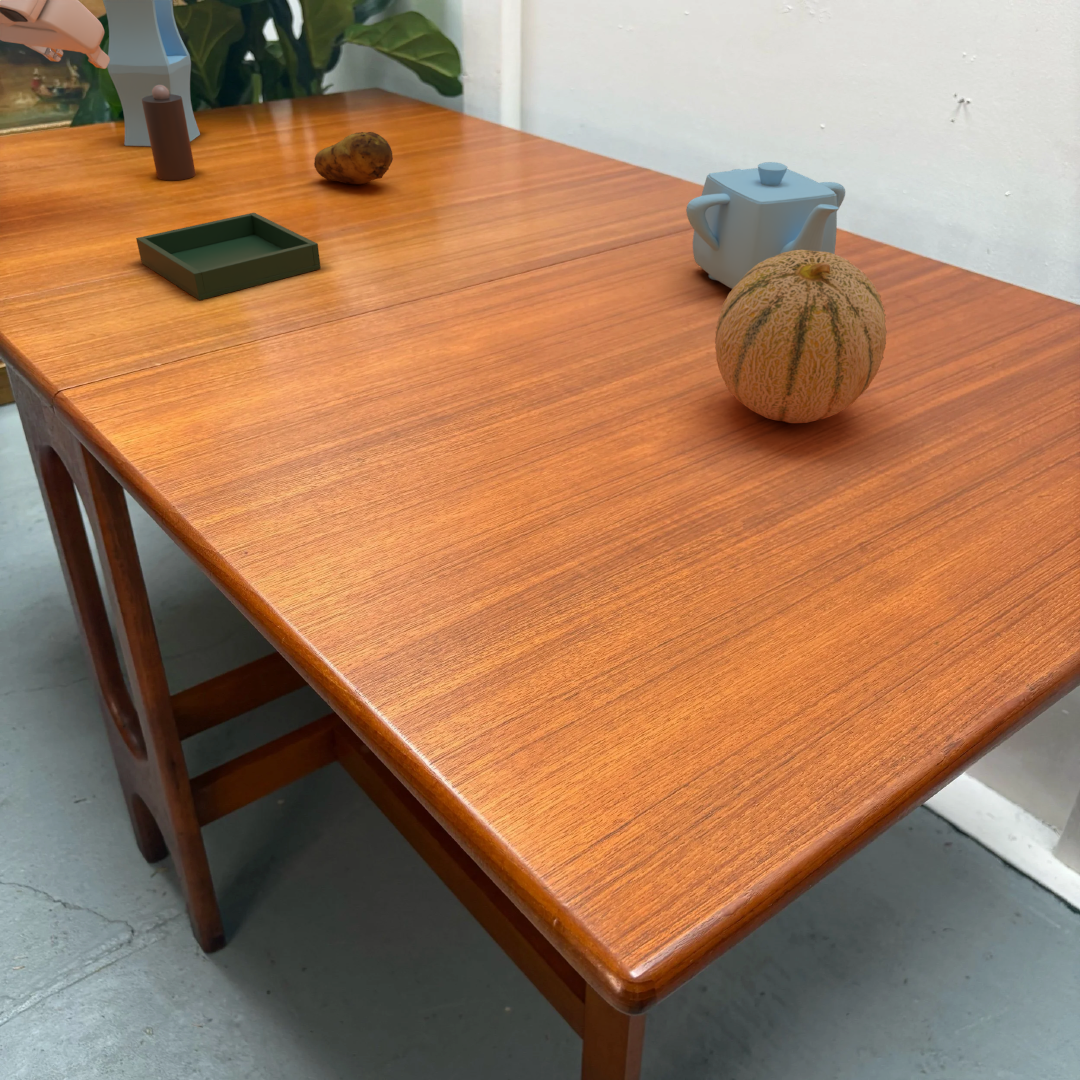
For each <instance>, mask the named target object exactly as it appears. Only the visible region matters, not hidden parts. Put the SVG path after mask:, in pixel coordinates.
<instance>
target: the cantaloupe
mask: <svg viewBox="0 0 1080 1080" xmlns="http://www.w3.org/2000/svg"><path fill="white" fill-rule="evenodd" d="M881 298H882V295H881V294H880V293H879V291H878V290H877V288H876V286H875V284H874V283H873V282H872V280H871V279H870V278H869V277H868V276H867V275H866V273H864V271H862V270H861V269H860V268H859V267H857V266H855V265H854V264H853V263H852V262H851V261H850V260H849V259H848V258H847V259H846V258H845V257H842V256H841V255H838V254H832V253H829V252H820V251H810V250H794V251H789V252H784V253H781V254H779V255H776V256H774V257H771V258H768V259H766V260H765V261H762V262H760V263H758V264H757V265H756V266H754V267H753V268H752V269H751V270H750V271H749V272H747V273H746V275H745V276H744V277H743V278H742V279H741V280H740V281H739V282H738V284H737V285H736V286H735V287H734V288H733V289H731V291H729V293H728V294H727V297H726V298H725V299H724V301H723V303H722V306H721V309H720V311H719V314H718V318H717V322H716V327H715V329H716V330H715V338H714V339H715V340H714V344H715V346H714V347H715V348H714V349H715V358H716V364H717V367H718V371H719V373H720V375H721V378H722V379H723V382H724V385H725V386H726V387H727V389H728V391H729V392H730V394H732V395H733V397H735V399H736V400H737V401H739V402H740V403H741V404H743V405H744V407H746V408H748V409H749V410H751V411H752V412H754V413H755V414H758V415H759V416H762V417H764V418H766V419H768V420H773V421H776V422H777V421H778V422H785V423H788V424H807V423H811V422H815V421H819V420H824V419H826V418H827V419H828V418H830V417H833V416H835V415H837V414H839V413H840V412H843V411H845V409H847V408H849V407H850V406H851V405H852V404H853V403H855V402H856V401H857V399H859V398H860V397H861V396H862V395H863V394H864V392H865V391H867V389H868V388H869V387H870V385H871V383H872V382H873V380H874V379H875V377H876V376H877V374H878V371H879V369H880V367H881V364H882V362H883V360H884V358H885V357H884V353H885V350H886V345H887V334H888V333H887V327H886V326H887V325H886V313H885V311H886V309H884V308H885V306H884V304H883V301H882V299H881Z"/></svg>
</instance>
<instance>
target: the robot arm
mask: <svg viewBox="0 0 1080 1080" xmlns="http://www.w3.org/2000/svg"><path fill="white" fill-rule="evenodd" d="M104 36H105V29H104V26H103V24H102V22H101V21H100V20H99V19H98V18H97V17H96V16H95V15H94V14H93V13H92V12H91V11H90V10H89V9H88V8H87V7H86V6H85V5H84V4H83V3H82V2H81V1H79V0H0V41H2V42H5V43H13V44H20V45H24V46H25V47H27V48H29V49H31V50H32V51H35V52H37V53H39V54H41V55H42V56H44V57H45V58H46V59H47V60H49V61H50V62H57V63H59V62H60V61H62V57H63V56H64V51H69V52H76V53H81V54H84V55H86V57H87V58H88V59H87V61H88V62H89V63H90V64H92V65H93V66H94V67H95V68H96V69H97V68H98V69H104V70H105V69H108V67H107V66H108V64H109V61H110V58H109V56H108V53H106V52H104V50H103V49H102V48H101V47H100V45H101V43H102V41H103V39H104Z"/></svg>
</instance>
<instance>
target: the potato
mask: <svg viewBox="0 0 1080 1080" xmlns="http://www.w3.org/2000/svg"><path fill="white" fill-rule="evenodd" d="M393 159H394V157H393V150H392V148H391V145H390V144H389V142H388V140H387V139H386V138H384V137H383V136H382V135H380V134H378V133H376V132H374V131H368V132H366V131H361V132H355V133H351V134H349V135H347V136H345V137H344V138H343V139H341V140H340V141H338V142H337V143H335V144H332V145H330V146H327V147H325V148H322V149H321V150H319V151H318V152H317V153H316V155H315V156H314V163H313V164H314V165H313V166H314V168H315V170H316V171H317V173H318V174H319V176H321V178H323V179H325V180H327V181H332V182H333V181H334V182H340V183H342V184H343V183H344V184H348V185H365V184H368V183H370V182H372V181H375V180H378V179H383V177H384V175H385V174H386V173H387V171H389V168H390V166H391V164H392V163H393V161H394V160H393Z"/></svg>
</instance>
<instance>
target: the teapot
mask: <svg viewBox="0 0 1080 1080" xmlns="http://www.w3.org/2000/svg"><path fill="white" fill-rule="evenodd" d="M845 196H846V188H845V186H844V185H843V184H841V183H839V182H835V181H821V182H820V181H819V182H818V181H816V180H815V179H812V178H810V177H808V176H805V175H803V174H802V173H798V172H796V171H794V170H791V169H788V166H787V165H785V164H784V163H781V162H775V161H767V162H762V163H761V162H760V163H759V164H757V167H754V168H743V169H740V168H735V169H734V168H733V169H731V170H727V171H717V172H710V173H708V174H707V175H706V178H705V182H704V184H703V189H702V193H701V195H700V196H696V197H694V198H692V199H691V200H690V201H689V202H688V203H687V205H686V209H685V210H686V211H685V212H686V216H687V220H688V222H689V224H690V226H691V228H692V229H693V235H692V236H693V237H692V255H693V259H694V262H695V264H697V265H698V266H699V267H700V268H701V269H702V270H703V271H705V273H707V274H708V278H709V279H711V280H713V281H717V282H719V283H721V284H722V285H725V286H726V287H728V288H729V289H731V290H732V289H733V288H734V287H735V286H736V285H737V284H738V282H739V281H740V280H741V279H742V278H743V277H744V276H745V275H746V273H747V272H749V271H750V270H751V269H752V268H753V267H754V266H756V265H757V264H758V263H760V262H762V261H765V260H766V259H768V258H771V257H774V256H776V255H779V254H781V253H784V252H789V251H794V250H810V251H820V252H829V253H832V254H835V253H836V245H837V230H838V229H837V226H838V225H837V224H838V211H839V209H840V207H841V205H843V202H844V200H845ZM835 255H836V254H835Z"/></svg>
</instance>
